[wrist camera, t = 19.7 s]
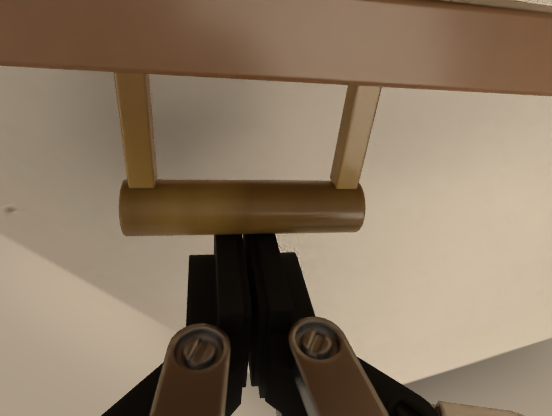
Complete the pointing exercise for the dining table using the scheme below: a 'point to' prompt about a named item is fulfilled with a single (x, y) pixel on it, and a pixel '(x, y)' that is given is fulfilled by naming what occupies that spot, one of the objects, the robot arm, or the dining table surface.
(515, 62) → the drawer
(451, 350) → the dining table surface
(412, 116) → the dining table surface
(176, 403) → the robot arm
